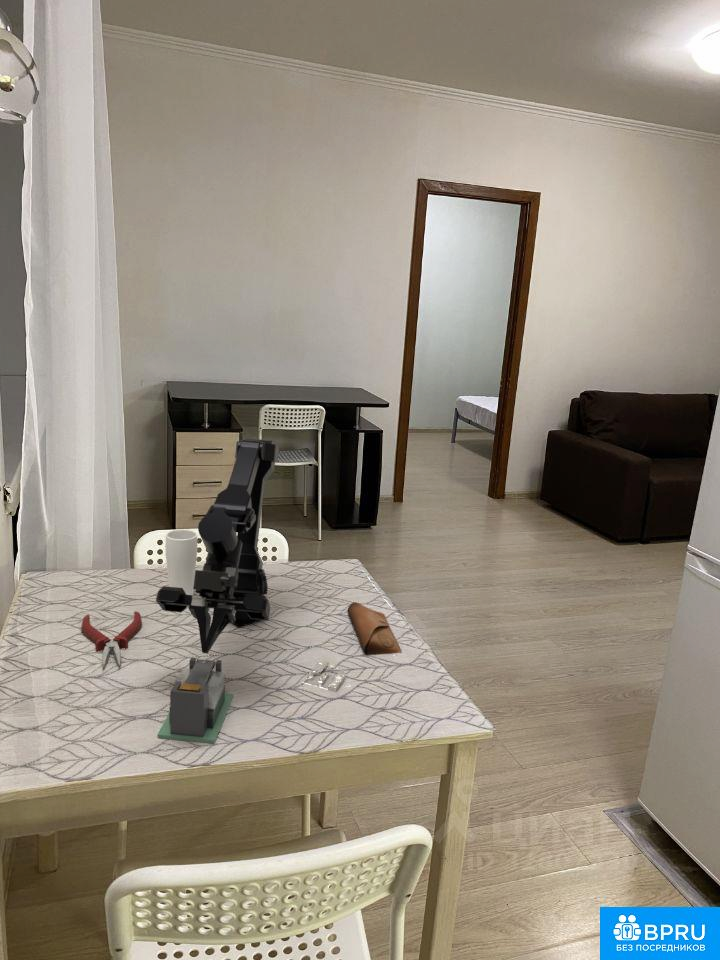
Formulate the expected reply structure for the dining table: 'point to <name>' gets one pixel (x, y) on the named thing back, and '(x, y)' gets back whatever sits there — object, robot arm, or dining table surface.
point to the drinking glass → (181, 559)
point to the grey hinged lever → (198, 676)
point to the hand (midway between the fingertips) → (204, 652)
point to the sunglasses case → (372, 630)
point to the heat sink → (210, 694)
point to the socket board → (192, 713)
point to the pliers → (118, 641)
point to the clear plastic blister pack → (335, 682)
